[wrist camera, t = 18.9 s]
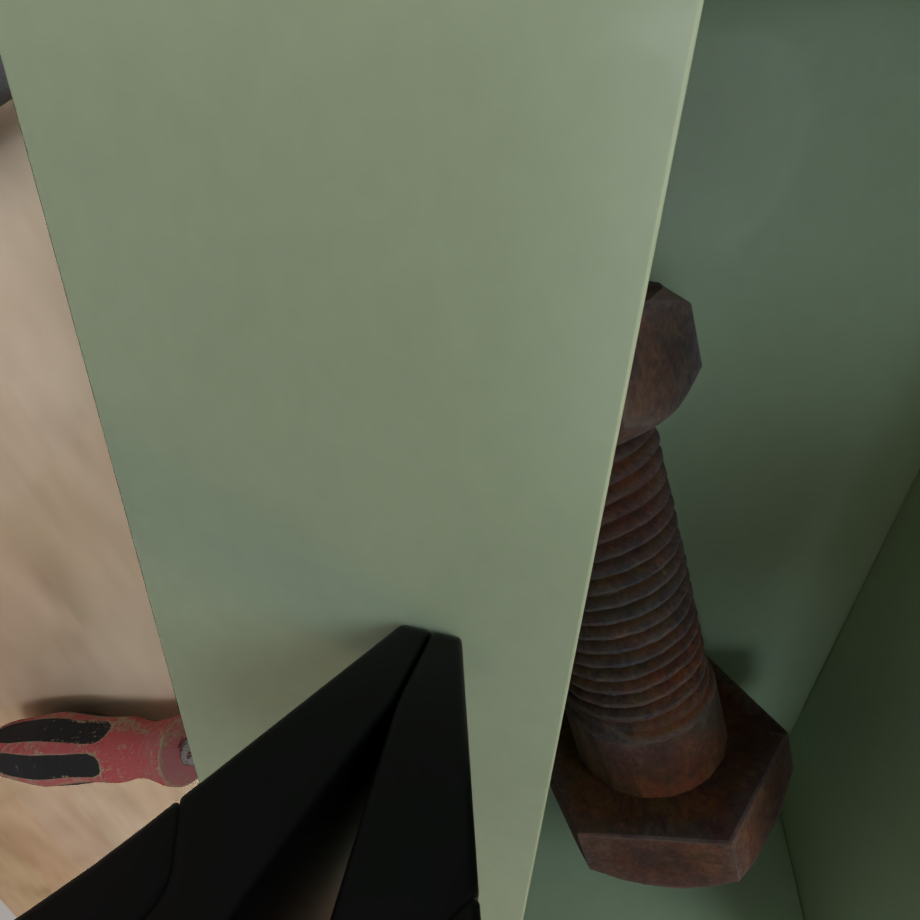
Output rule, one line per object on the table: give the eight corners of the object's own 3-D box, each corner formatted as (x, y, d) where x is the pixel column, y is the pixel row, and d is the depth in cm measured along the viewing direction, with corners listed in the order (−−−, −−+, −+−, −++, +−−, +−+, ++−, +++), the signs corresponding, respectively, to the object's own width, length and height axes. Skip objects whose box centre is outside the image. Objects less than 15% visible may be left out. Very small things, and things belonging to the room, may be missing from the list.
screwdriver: (506, 678, 18) (486, 764, 16) (531, 743, 19) (516, 833, 17) (9, 697, 27) (-56, 754, 25) (45, 741, 28) (-14, 799, 26)
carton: (780, 770, 17) (853, 1068, 11) (354, 663, 20) (246, 862, 14) (1207, -87, 8) (2529, -643, 2) (314, -65, 11) (-26, -300, 5)
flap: (511, 971, 13) (508, 994, 12) (239, 880, 14) (230, 898, 13) (787, -442, 4) (805, -506, 3) (-64, -326, 5) (-117, -362, 4)
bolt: (554, 105, 12) (682, 664, 17) (322, 179, 11) (526, 735, 16) (746, -47, 7) (851, 839, 12) (324, 79, 6) (627, 954, 11)
